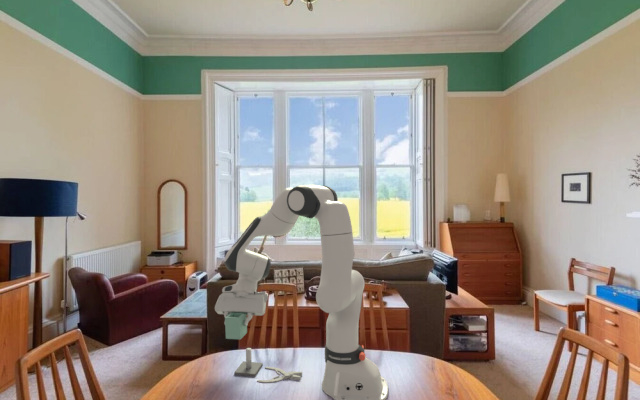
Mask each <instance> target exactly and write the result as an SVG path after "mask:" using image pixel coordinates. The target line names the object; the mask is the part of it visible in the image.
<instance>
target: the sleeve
mask: <svg viewBox="0 0 640 400" xmlns="http://www.w3.org/2000/svg"><path fill="white" fill-rule="evenodd" d="M247 317H248V316H247V315H246V312H231V313H230V314H229V315H228V316H226V317H224V322H225V324H224V326H225V327H224V328H225V330H224V331H225V340H226V339H227V340H242V339H243V338H244V336H246V334H247V333H248V325H247V326H243V325H242V323H243V320H246V318H247Z"/></svg>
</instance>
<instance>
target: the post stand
mask: <svg viewBox="0 0 640 400" xmlns="http://www.w3.org/2000/svg"><path fill="white" fill-rule="evenodd" d="M263 366H264V365H263V362H258V361H257V362H256V361H252V348H251V347H247V348H245V361H242V362H241V363H240V365H239V366H238V367H237V368H236V370H235V371H234V376H242V377H254V378H255V377H256V376H257V375H258V373H259V372H260V370H261V369H262V367H263Z"/></svg>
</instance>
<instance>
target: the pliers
mask: <svg viewBox="0 0 640 400" xmlns="http://www.w3.org/2000/svg"><path fill="white" fill-rule="evenodd" d="M264 369H266V370H272V371H276V374H277V375H275V377H272V378H271V379H262V380H261V379H257V382H256V383H264V384H268V383H269V384H271V383H277V382H281V381H283V380H287V379H288V380H291V381H292V380H295V381H301V380H302V377H303V371H292V370H291V371H288V372H287V371H285V370H284V369H282V368H279V367H273V366H265V367H264ZM281 374H282V375H281Z"/></svg>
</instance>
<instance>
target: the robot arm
mask: <svg viewBox="0 0 640 400" xmlns="http://www.w3.org/2000/svg"><path fill="white" fill-rule="evenodd" d="M299 217H304V218H308V219H313V218H315V219H316V220H317V221H318V223H319V224H318V225H319V230H320V245H321V254H322V255H321V257H322V258H321V271H320V279H319V286H318V288H317V290H316V294H315V300H316V301H315V302H316V303H317V305H318V307H319V308H320V310H321V311H323V312H324V313H327V314H328V317H327V319H326V323H325V324H326V325H325V331H326V332H325V337H326V338H325V339H326V340H325V346H324V362H325V365H324V366H325V368H324V375H323V380H322V383H321V389H322V390H323V392H324V393H325V394H326V395H328V396H330V397H331V398H333V400H387V398H388V396H389V385H388V382H387V380H386V379H385V378H384V376H381V372H380V369H379V366H378V365H377V364H376V363H374V362H373V361H372V360H371V359H369V358H367V357H366V353H365V348H364V345H363V344H362V345H360V344H359V322H360V321H359V320H360V315H361V308H362V301H363V292H364V289H365V286H366V281H365V279H364V276H363V275H362V274H361V273H360V272H359V271H358V270H356V269H353V264H354V263H353V262H354V258H355V245H354V234H353V233H354V232H353V226H352V220H351V216H350V212H349V209H348V207H347V205H346V204H345V203H343V202H342V201H339V200H338V195H337V192H336V191H335V190H334V189H333V188H331V187H330V186H327V185H319V184H299V185H297V186H295V187H285V188H284V189H283V190H281V192H280V193H279V194H278V196H277V197H276V199H275V200H274V201H273V203H272V205H271V207H270V208H269V211H267V212H266V213H265V214H263V215H262V216H256V218H254V219H253V221H251V222H250V224H249V225H248V226H247V227H246V229H245V230H244V231H243V233H242V234H241V235H240V236H239V238H238V239H237V240H236V242H235V243H234V244H233V245H232V246H231V247H230V248H229V250H227V252H226V254H225V256H224V260H223V263H224V265H225V267H226V269H227V270H228V271H231V272H234V273H238V279H237V280H236V283H234V284H231V285H227V286H224V287H222V289H221V292H222V293H221V294H219V296H218V298H217V301H216V303H215V304H214V311H215V312H216V313H217V314H218V315H223V316H224V318H225V317H226V316H228V315H229V314H230V313H231V312H246V317H247V318H246V320H243V323H242V325H243V326H247V327H248V324H249V322H250V321H251V320H252V319H253V318H254V317H253V316H264V314H265V313H266V310H267V309H266V306H267V302H268V299H269V294H268V293H266V292H265V291H257V289H258V282H259V281H262V280H264V279H266V278H267V277H269V274H270V270H271V266H272V262H271V260H270V257H268V256H266V255H264V254H261V253H258V252H256V251H252V250H250V249H247V248H248V246H249V245H250V244H251V242H252V241H253V240H254V239H256V238H257V237H262V236H263V237H264V236H268V237H269V236H270V237H281V236H285V235H286V234H289V233H290V232H291V230H292V229H293V227H294V226H295V225H296V223H297V221H298V219H299ZM223 324H224V325H225V321H224V322H223Z"/></svg>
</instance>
